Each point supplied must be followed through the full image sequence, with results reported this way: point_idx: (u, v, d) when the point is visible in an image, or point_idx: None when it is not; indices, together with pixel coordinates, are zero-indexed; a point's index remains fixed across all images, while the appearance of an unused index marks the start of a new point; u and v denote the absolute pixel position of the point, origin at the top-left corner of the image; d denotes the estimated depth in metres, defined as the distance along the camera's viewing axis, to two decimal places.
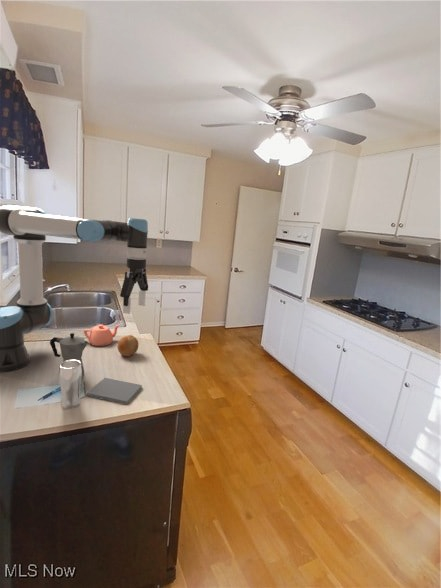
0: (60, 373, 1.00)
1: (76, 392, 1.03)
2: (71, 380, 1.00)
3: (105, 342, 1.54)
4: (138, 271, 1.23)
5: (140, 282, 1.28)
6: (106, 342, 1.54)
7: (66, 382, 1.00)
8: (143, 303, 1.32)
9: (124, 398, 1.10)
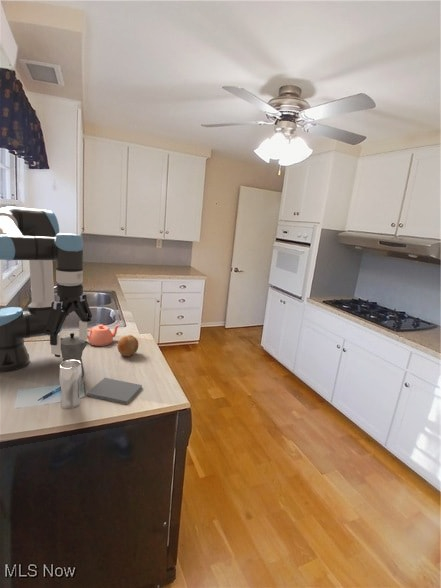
0: (60, 373, 1.00)
1: (76, 392, 1.03)
2: (71, 380, 1.00)
3: (105, 342, 1.54)
4: (72, 299, 0.97)
5: (78, 312, 1.02)
6: (106, 342, 1.54)
7: (66, 382, 1.00)
8: (85, 337, 1.07)
9: (124, 398, 1.10)
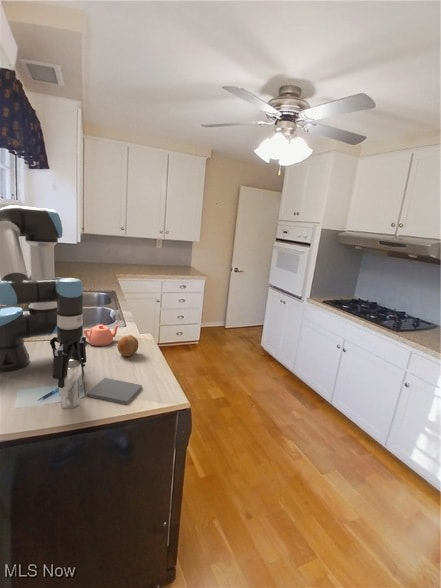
0: None
1: (76, 392, 1.03)
2: (71, 380, 1.00)
3: (105, 342, 1.54)
4: (73, 341, 1.00)
5: (75, 355, 1.04)
6: (106, 342, 1.54)
7: None
8: None
9: (124, 398, 1.10)
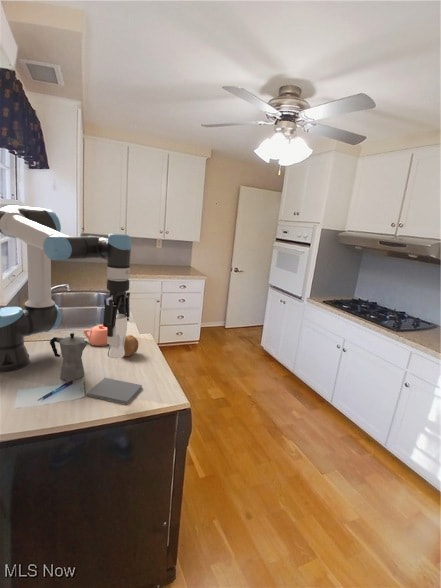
0: None
1: (122, 343, 1.10)
2: (119, 330, 1.07)
3: (105, 342, 1.54)
4: (120, 294, 1.07)
5: (121, 308, 1.11)
6: (106, 342, 1.54)
7: None
8: None
9: (124, 398, 1.10)
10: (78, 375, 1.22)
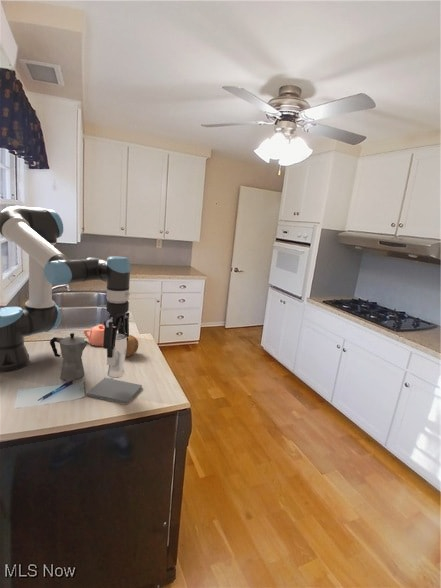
0: None
1: (122, 363, 1.12)
2: (118, 351, 1.09)
3: None
4: (120, 315, 1.09)
5: (121, 328, 1.12)
6: None
7: None
8: None
9: (124, 398, 1.10)
10: (78, 375, 1.22)
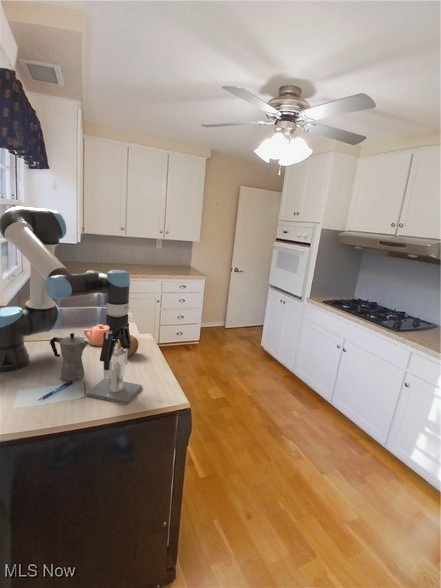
0: None
1: (121, 378, 1.13)
2: (118, 366, 1.10)
3: None
4: (119, 328, 1.10)
5: (121, 339, 1.14)
6: None
7: (113, 368, 1.10)
8: None
9: (124, 398, 1.10)
10: (78, 375, 1.22)
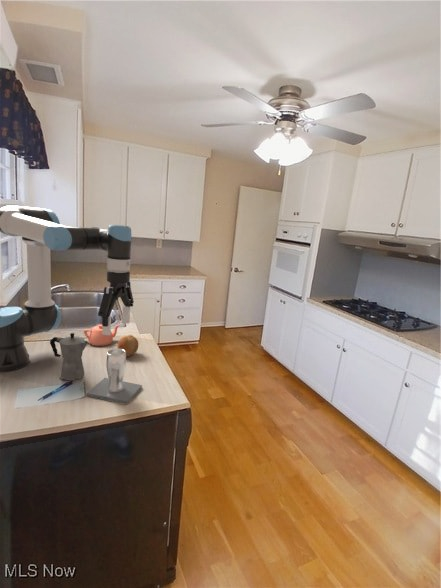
0: (108, 360, 1.10)
1: (121, 378, 1.13)
2: (118, 366, 1.10)
3: (105, 342, 1.54)
4: (120, 285, 1.06)
5: (123, 297, 1.12)
6: (106, 342, 1.54)
7: (113, 368, 1.10)
8: (127, 321, 1.16)
9: (124, 398, 1.10)
10: (78, 375, 1.22)
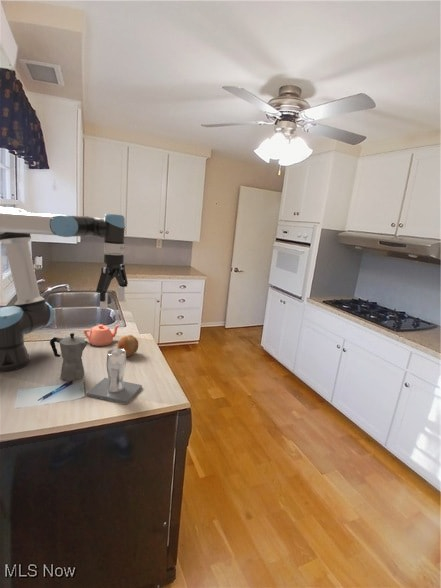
0: (108, 360, 1.10)
1: (121, 378, 1.13)
2: (118, 366, 1.10)
3: (105, 342, 1.54)
4: (116, 267, 1.23)
5: (118, 278, 1.28)
6: (106, 342, 1.54)
7: (113, 368, 1.10)
8: (122, 299, 1.32)
9: (124, 398, 1.10)
10: (78, 375, 1.22)
